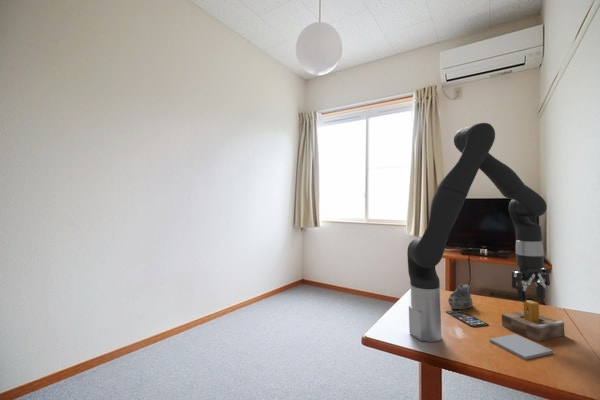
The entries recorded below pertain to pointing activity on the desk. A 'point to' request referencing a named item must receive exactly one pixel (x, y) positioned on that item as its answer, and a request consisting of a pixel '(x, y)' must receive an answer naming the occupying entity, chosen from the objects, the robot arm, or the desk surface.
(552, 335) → the box
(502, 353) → the desk surface
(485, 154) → the robot arm
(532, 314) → the supplement box
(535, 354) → the mat
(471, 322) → the smartphone
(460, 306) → the mineral rock
